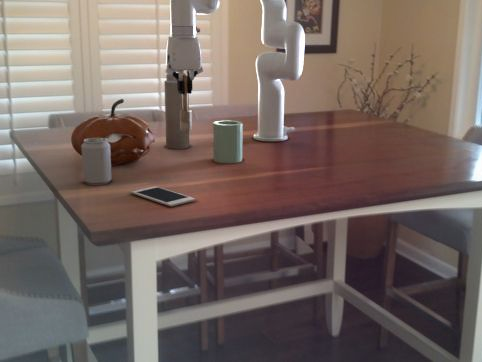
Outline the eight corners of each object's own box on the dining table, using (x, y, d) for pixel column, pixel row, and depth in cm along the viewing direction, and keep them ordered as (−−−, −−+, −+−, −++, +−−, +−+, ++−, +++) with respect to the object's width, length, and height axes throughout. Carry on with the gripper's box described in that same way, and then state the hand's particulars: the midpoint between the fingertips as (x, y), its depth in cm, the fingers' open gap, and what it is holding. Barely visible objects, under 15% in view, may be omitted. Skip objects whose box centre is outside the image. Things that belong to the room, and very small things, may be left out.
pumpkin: (116, 175, 190) (113, 109, 185) (54, 163, 202) (50, 101, 197) (172, 159, 211) (171, 99, 206) (113, 149, 223) (110, 92, 218)
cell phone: (170, 207, 162) (170, 204, 162) (131, 193, 172) (131, 191, 172) (195, 200, 167) (195, 198, 167) (155, 188, 178) (155, 185, 178)
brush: (188, 128, 211) (187, 74, 206) (193, 130, 208) (192, 75, 203) (178, 129, 209) (176, 74, 204) (182, 131, 206) (181, 76, 201)
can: (86, 178, 186) (84, 136, 183) (114, 178, 186) (112, 136, 183) (80, 185, 179) (78, 141, 175) (109, 185, 179) (107, 142, 176)
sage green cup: (233, 155, 218) (234, 119, 215) (247, 161, 211) (247, 124, 208) (208, 158, 213) (208, 121, 210) (221, 164, 206) (221, 126, 203)
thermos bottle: (192, 144, 233) (191, 63, 226) (184, 149, 225) (183, 65, 218) (171, 143, 234) (169, 62, 227) (162, 147, 227) (160, 64, 220)
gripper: (202, 31, 208) (203, 90, 213) (154, 31, 199) (156, 93, 204) (212, 32, 201) (213, 93, 206) (163, 33, 193) (165, 96, 198)
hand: (185, 92), depth 205 cm, fingers closed on brush
